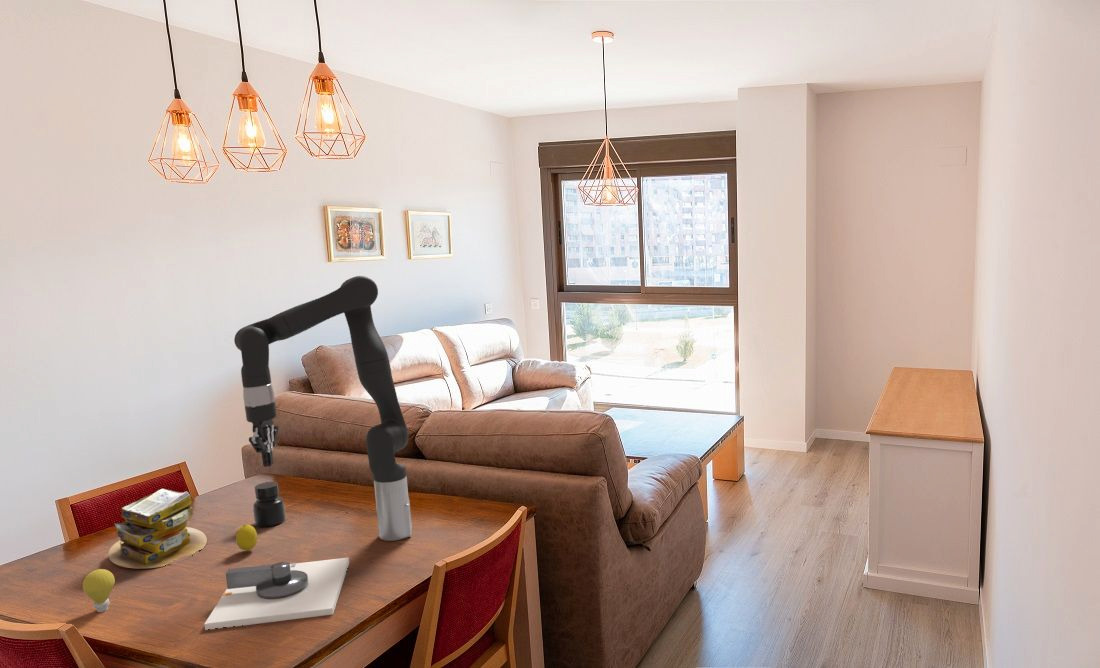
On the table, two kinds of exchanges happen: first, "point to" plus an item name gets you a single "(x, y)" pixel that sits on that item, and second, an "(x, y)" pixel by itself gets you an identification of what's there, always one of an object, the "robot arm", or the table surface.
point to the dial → (268, 580)
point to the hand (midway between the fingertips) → (268, 465)
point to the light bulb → (99, 587)
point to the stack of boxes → (156, 531)
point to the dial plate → (309, 602)
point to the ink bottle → (268, 505)
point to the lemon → (246, 537)
